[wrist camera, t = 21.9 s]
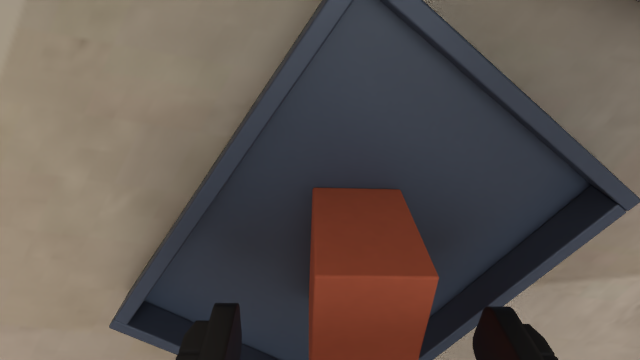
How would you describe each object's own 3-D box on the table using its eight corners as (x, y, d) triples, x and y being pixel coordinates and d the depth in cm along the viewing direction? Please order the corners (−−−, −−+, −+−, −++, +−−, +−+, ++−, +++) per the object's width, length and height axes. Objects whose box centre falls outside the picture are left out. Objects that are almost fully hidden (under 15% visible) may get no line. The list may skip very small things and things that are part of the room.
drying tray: (345, 388, 21) (348, 424, 20) (128, 293, 17) (107, 327, 16) (603, 175, 15) (642, 201, 13) (354, -49, 11) (363, -55, 9)
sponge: (308, 298, 17) (308, 406, 13) (312, 186, 14) (314, 276, 10) (382, 298, 17) (407, 405, 13) (400, 188, 15) (440, 277, 10)
